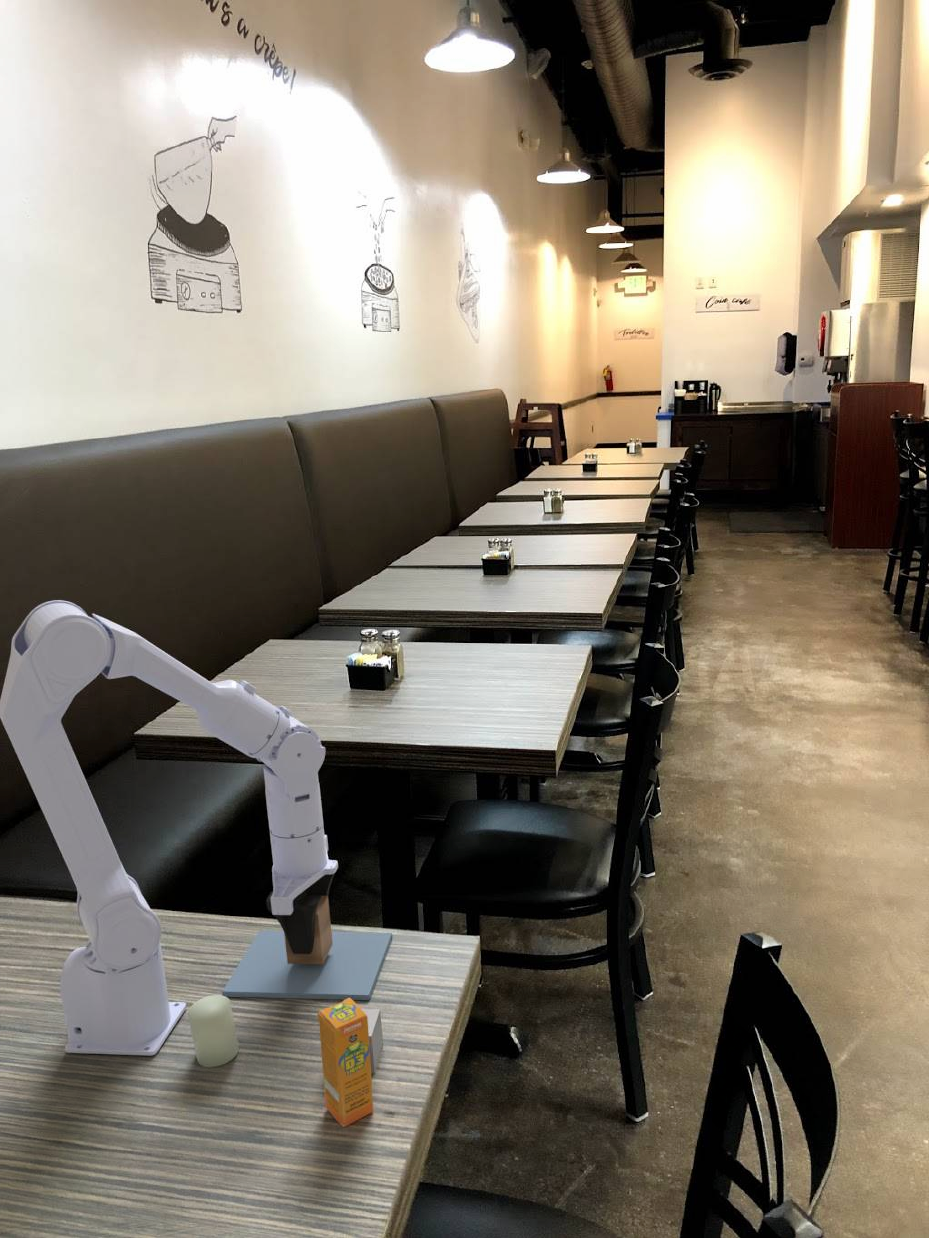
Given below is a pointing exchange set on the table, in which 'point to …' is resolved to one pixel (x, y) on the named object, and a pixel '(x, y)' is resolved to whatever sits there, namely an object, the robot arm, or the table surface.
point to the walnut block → (316, 938)
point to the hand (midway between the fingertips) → (308, 940)
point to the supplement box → (346, 1061)
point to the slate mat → (310, 968)
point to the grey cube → (374, 1036)
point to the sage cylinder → (213, 1030)
